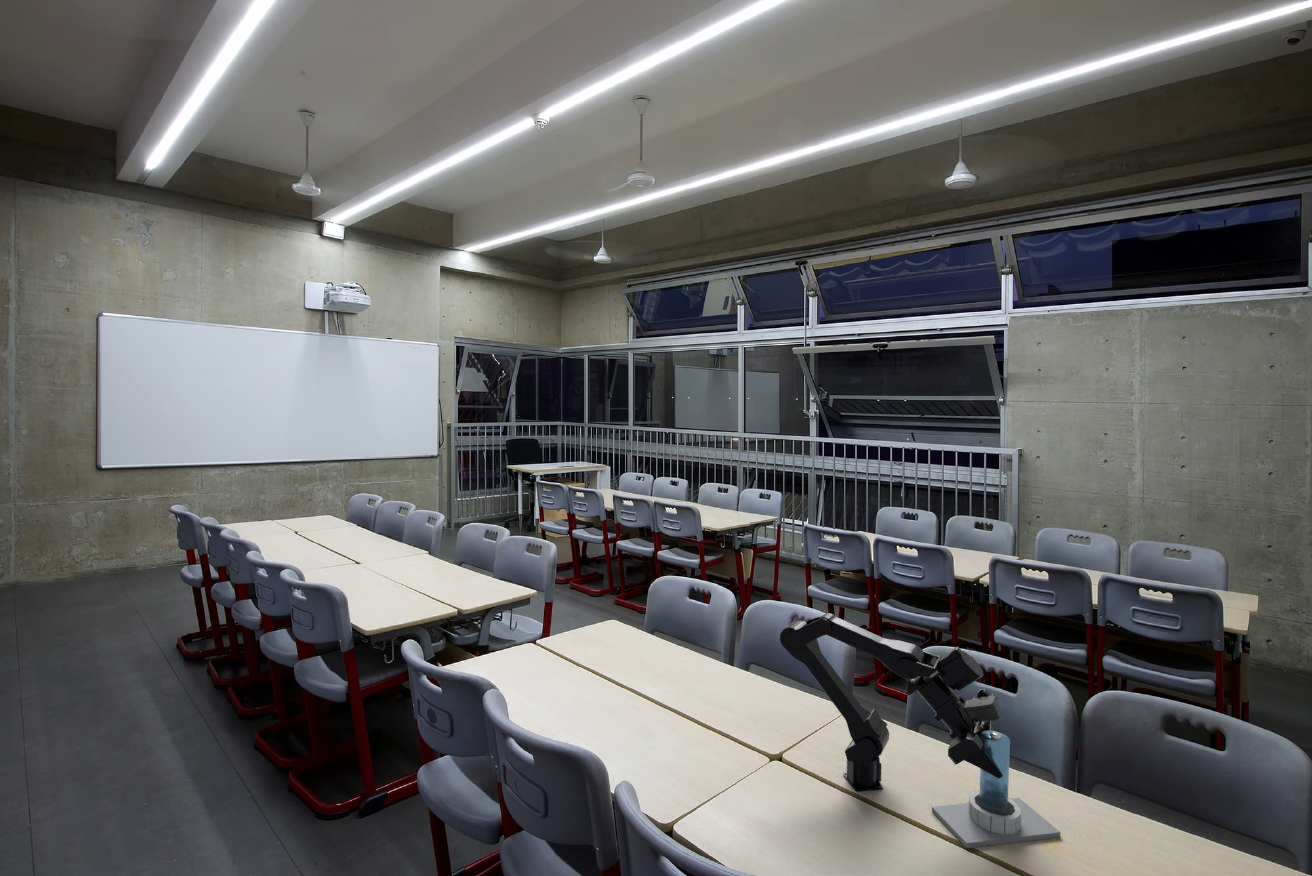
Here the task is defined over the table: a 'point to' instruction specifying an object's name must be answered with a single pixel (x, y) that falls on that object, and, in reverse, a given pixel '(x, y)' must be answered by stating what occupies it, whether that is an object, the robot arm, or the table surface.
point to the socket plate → (989, 838)
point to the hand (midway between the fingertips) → (1002, 770)
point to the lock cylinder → (999, 750)
